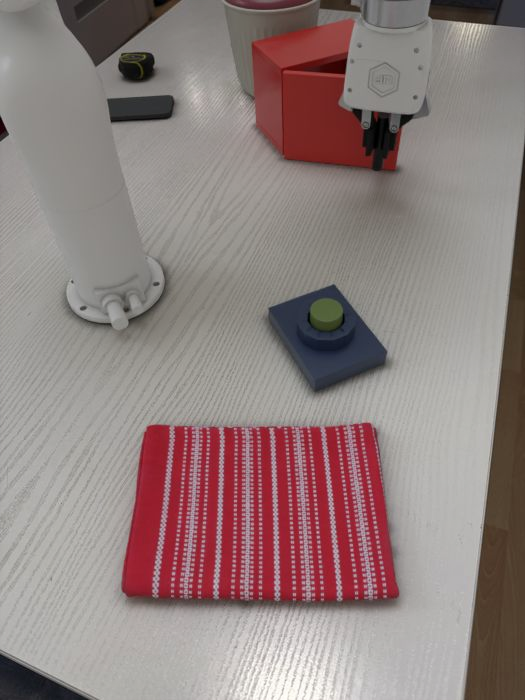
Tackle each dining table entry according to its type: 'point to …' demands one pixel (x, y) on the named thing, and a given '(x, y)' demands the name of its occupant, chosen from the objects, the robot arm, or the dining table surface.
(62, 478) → the dining table surface
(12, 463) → the dining table surface
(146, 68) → the tape measure
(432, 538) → the dining table surface
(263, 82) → the cabinet
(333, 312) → the button
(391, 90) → the robot arm
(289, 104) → the door
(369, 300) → the dining table surface
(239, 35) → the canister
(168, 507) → the dish towel
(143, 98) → the phone
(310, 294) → the panel
